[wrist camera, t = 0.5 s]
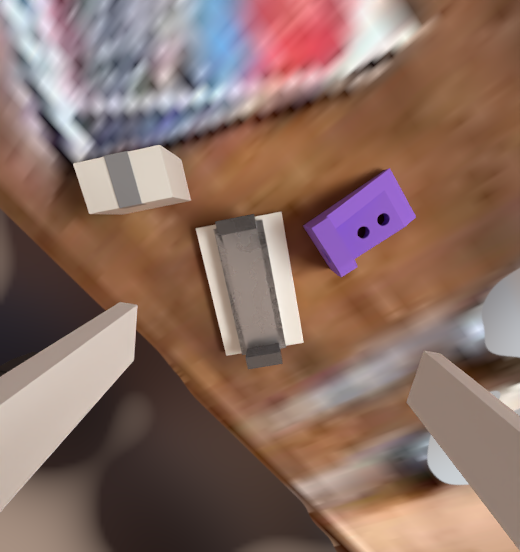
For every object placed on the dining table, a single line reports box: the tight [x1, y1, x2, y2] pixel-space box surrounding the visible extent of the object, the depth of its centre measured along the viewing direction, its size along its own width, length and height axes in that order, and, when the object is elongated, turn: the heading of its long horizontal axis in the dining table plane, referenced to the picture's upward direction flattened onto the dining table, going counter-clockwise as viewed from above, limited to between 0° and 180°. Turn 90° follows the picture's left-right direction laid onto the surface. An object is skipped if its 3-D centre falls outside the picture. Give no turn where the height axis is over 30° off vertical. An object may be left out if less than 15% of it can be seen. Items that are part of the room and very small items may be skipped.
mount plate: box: [196, 212, 304, 356], centre depth 36 cm, size 18×11×1 cm, turn 11°
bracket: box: [303, 168, 416, 277], centre depth 31 cm, size 12×7×7 cm, turn 124°
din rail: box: [214, 214, 286, 369], centre depth 33 cm, size 19×6×4 cm, turn 11°
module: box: [73, 145, 191, 214], centre depth 30 cm, size 5×9×7 cm, turn 101°
